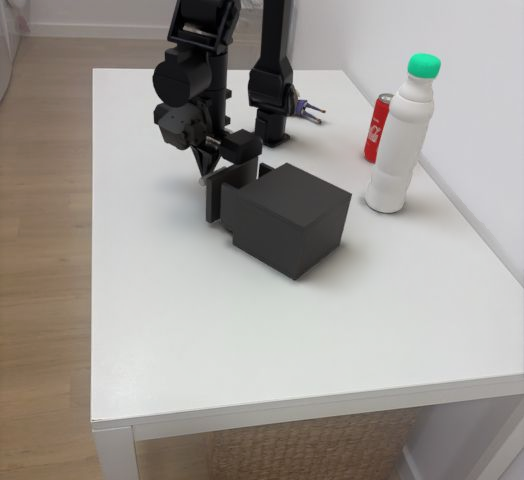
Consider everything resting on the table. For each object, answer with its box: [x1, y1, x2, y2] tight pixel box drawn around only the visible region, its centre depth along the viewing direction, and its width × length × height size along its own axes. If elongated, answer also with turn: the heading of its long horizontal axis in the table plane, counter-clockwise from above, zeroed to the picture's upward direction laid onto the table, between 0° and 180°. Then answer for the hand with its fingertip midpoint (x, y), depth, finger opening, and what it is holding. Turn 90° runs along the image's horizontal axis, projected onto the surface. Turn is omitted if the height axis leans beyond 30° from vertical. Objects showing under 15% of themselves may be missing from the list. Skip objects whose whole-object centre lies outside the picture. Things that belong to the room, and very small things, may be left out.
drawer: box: [198, 156, 276, 232], centre depth 85 cm, size 16×11×8 cm
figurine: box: [295, 88, 327, 124], centre depth 118 cm, size 6×4×15 cm
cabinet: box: [232, 162, 353, 281], centre depth 82 cm, size 13×13×10 cm
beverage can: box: [363, 92, 395, 164], centre depth 104 cm, size 5×5×12 cm
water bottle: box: [364, 52, 442, 214], centre depth 88 cm, size 7×7×25 cm
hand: (206, 179), depth 89 cm, fingers closed
